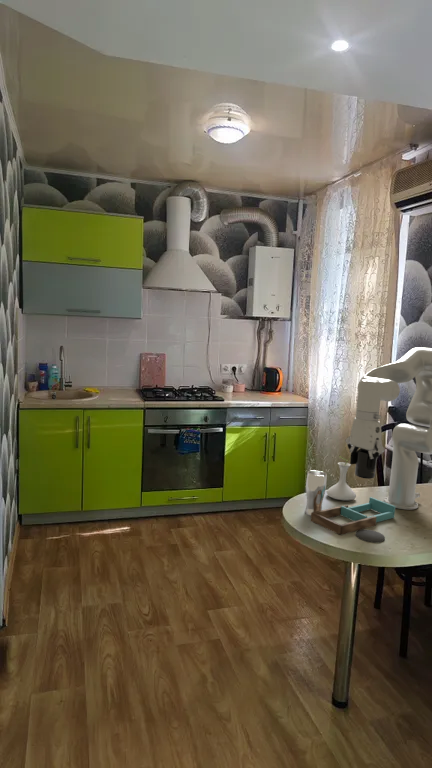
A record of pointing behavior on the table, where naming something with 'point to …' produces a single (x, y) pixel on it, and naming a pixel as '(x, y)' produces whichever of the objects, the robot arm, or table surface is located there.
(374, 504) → the teal drawer
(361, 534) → the coaster
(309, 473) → the beer glass
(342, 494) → the flower in vase
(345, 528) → the walnut cubby
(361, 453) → the supplement bottle
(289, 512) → the table surface
